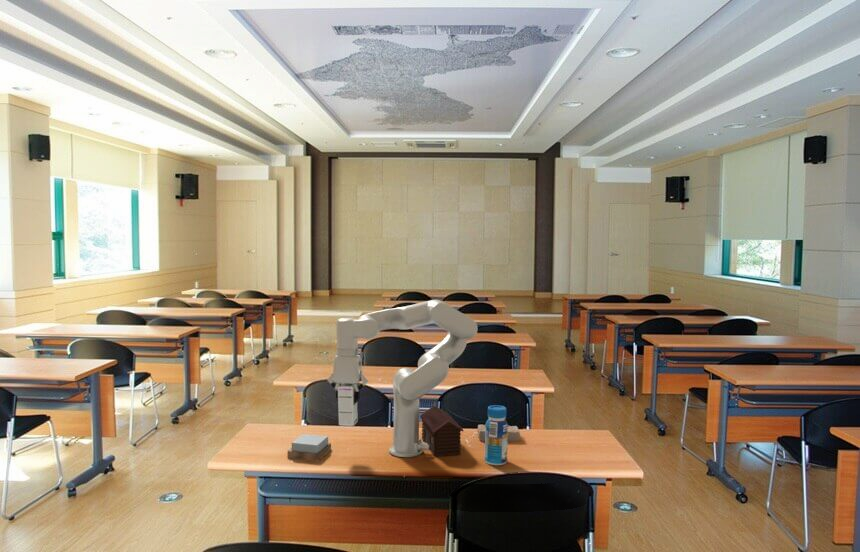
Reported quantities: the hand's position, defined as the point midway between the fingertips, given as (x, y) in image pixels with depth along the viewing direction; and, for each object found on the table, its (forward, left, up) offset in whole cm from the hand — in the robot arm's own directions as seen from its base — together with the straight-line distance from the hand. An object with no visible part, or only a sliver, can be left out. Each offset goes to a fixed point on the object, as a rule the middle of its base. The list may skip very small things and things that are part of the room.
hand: (347, 400), depth 224 cm
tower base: (+14, +1, -21) cm, 26 cm away
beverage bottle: (-54, -9, -21) cm, 58 cm away
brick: (-52, -34, -21) cm, 66 cm away
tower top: (+14, +2, -18) cm, 23 cm away
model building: (-31, -19, -21) cm, 42 cm away
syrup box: (0, 0, -9) cm, 9 cm away
